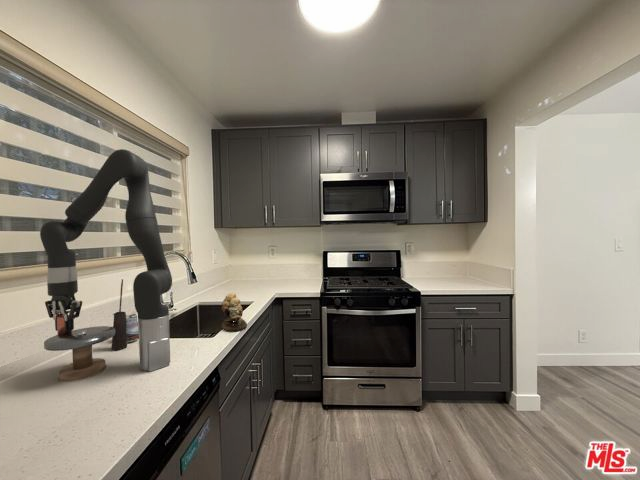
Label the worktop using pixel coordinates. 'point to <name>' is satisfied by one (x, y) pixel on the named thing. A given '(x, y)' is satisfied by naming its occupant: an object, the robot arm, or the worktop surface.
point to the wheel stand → (82, 365)
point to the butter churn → (119, 328)
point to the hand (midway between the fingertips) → (64, 330)
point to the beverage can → (132, 327)
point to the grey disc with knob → (77, 336)
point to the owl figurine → (233, 313)
